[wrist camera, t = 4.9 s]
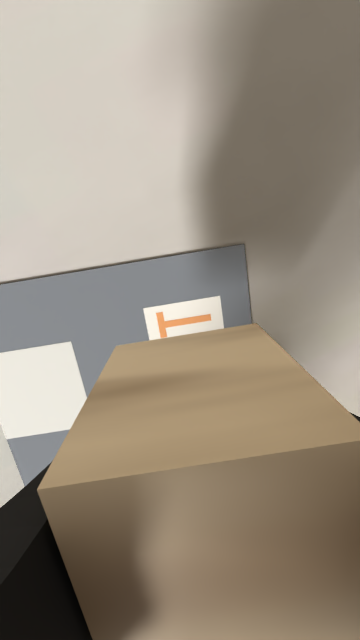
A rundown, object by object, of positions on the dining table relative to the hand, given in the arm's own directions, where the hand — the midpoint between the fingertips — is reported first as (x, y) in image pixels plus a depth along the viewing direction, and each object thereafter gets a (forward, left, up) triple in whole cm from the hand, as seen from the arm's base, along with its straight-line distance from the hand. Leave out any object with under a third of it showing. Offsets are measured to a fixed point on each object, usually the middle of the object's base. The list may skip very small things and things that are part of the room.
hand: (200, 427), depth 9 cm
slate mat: (-5, +4, -9) cm, 11 cm away
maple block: (0, 0, -2) cm, 2 cm away
